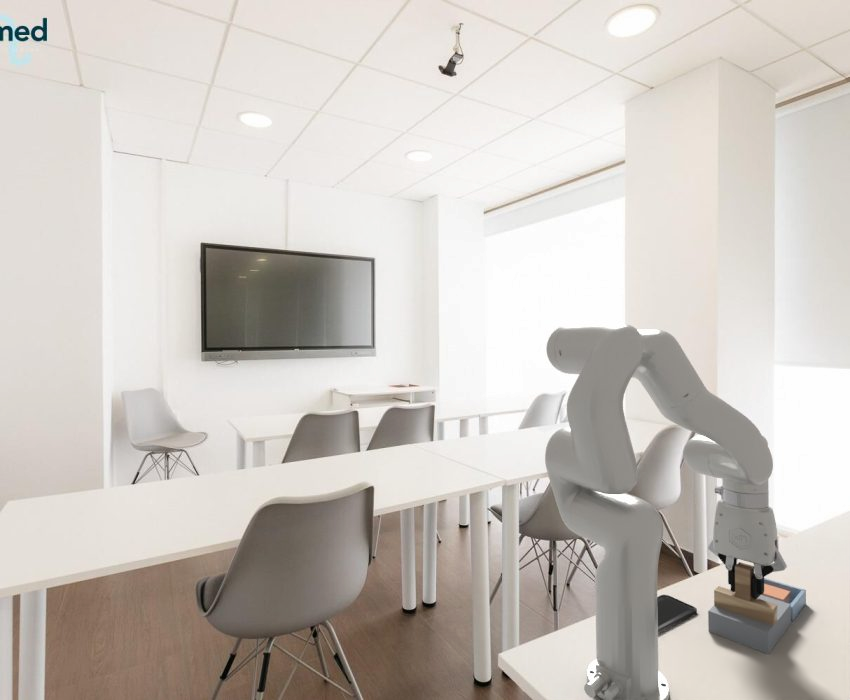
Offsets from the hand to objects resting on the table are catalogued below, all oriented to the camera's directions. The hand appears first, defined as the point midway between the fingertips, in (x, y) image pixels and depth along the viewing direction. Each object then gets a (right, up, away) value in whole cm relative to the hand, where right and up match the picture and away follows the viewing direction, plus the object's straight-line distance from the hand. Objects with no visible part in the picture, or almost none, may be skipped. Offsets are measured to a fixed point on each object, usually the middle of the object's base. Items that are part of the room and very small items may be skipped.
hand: (745, 591), depth 99 cm
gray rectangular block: (+2, -8, +2) cm, 8 cm away
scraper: (0, -4, 0) cm, 4 cm away
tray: (+12, -7, +10) cm, 17 cm away
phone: (-13, -9, +7) cm, 17 cm away
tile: (+12, -5, +10) cm, 17 cm away
